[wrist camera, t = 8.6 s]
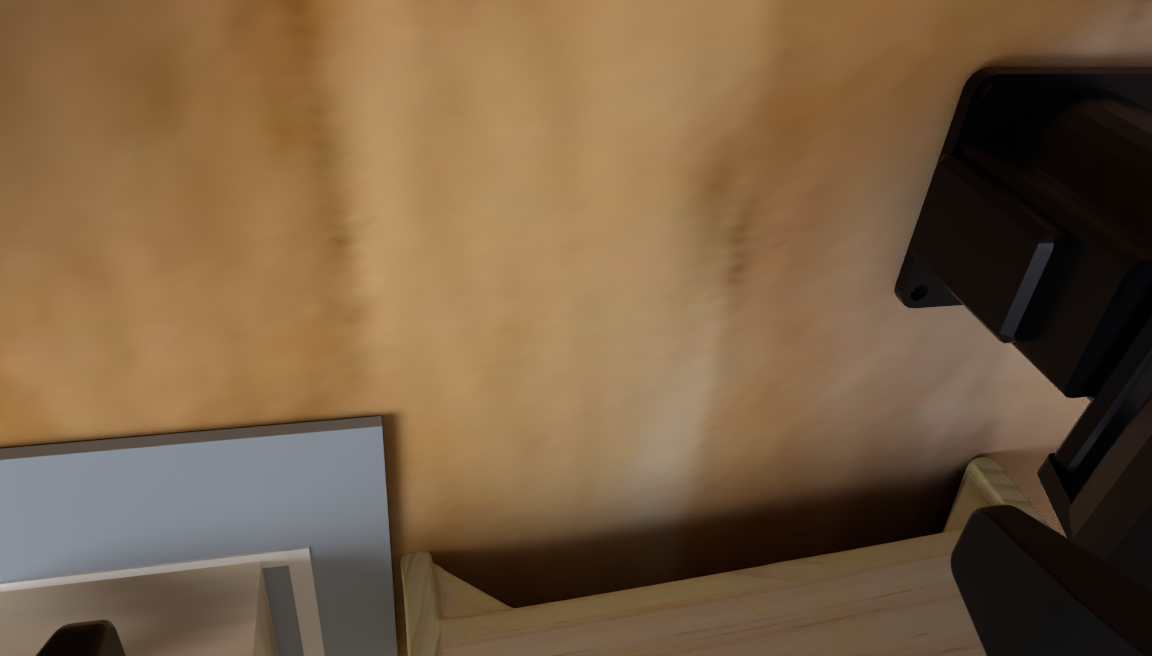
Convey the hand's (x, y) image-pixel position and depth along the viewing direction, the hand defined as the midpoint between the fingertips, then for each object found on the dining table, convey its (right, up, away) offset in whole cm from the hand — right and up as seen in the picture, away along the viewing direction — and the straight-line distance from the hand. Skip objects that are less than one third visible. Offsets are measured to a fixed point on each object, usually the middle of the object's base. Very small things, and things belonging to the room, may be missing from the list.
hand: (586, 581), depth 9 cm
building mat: (-12, -6, +16) cm, 21 cm away
